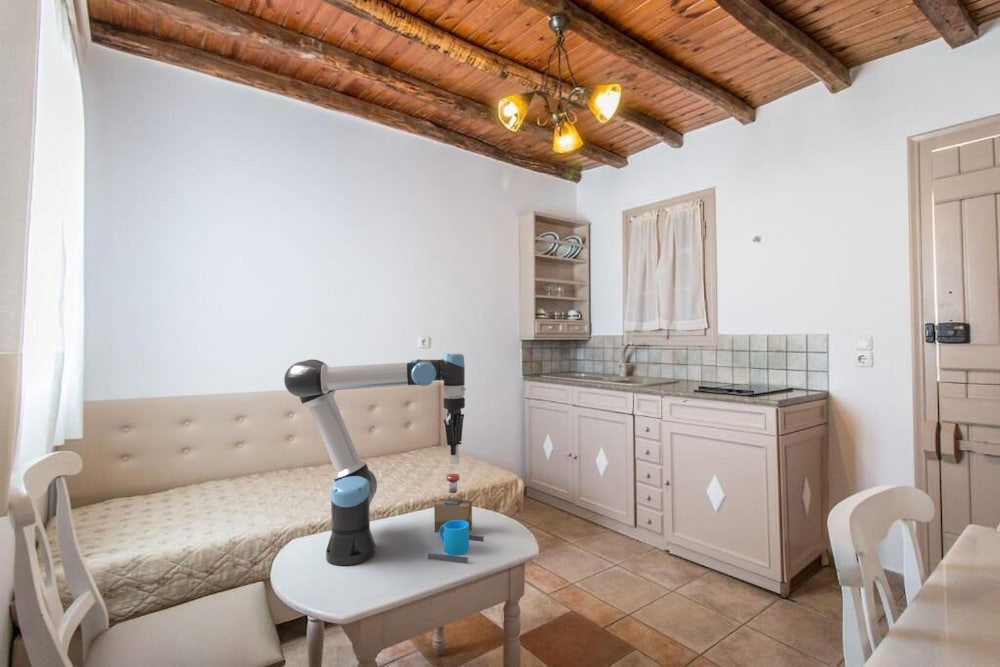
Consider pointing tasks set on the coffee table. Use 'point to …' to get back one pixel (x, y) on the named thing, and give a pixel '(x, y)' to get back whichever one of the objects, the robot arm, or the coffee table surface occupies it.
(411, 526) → the coffee table surface
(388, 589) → the coffee table surface
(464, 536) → the mug
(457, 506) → the end cabinet
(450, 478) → the red rounded piece
